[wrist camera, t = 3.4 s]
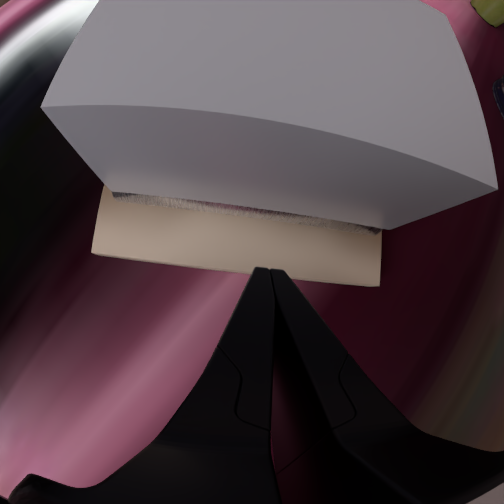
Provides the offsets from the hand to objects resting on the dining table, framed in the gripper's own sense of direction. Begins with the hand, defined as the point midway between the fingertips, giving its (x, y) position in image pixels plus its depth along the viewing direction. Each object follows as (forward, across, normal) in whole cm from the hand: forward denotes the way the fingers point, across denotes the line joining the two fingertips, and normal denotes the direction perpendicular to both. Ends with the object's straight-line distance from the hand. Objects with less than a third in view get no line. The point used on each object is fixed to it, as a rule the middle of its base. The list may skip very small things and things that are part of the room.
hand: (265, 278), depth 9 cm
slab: (+7, 0, -3) cm, 8 cm away
